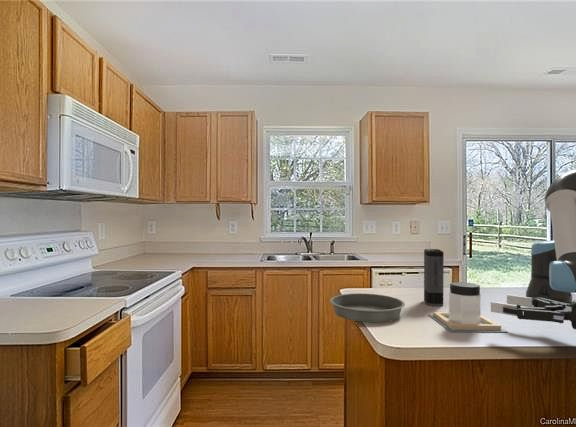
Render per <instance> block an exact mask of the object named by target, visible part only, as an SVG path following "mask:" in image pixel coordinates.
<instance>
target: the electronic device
mask: <svg viewBox="0 0 576 427" xmlns="http://www.w3.org/2000/svg"><path fill="white" fill-rule="evenodd" d="M423 252H424V253H423V269H424V270H423V272H424V273H423V300H424V302H425V304H426V305H427V306H431V305H432V307H433V306H436V307H441V306H443V305H444V269H445V268H444V262H445V260H444V253H445V252H444V251H443V250H441V249H437V248H425V249H424V251H423Z"/></svg>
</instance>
